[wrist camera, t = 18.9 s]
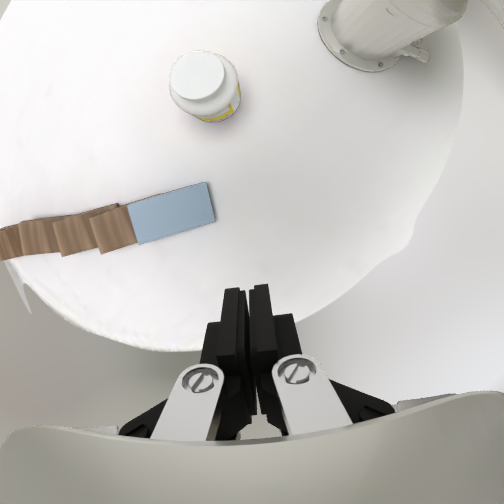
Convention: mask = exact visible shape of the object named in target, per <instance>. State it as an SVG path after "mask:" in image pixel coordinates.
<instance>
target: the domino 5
mask: <svg viewBox="0 0 504 504" xmlns="http://www.w3.org/2000/svg"><path fill="white" fill-rule="evenodd" d="M127 208H128V211H129V215H130V218H131V222H132V225H133V228H134V232H135V235H136V238H137V241H138V244H139V245H141V244H144V243H147V242H151V241H154V240H157V239H160V238H163V237H166V236H170V235H173V234H176V233H179V232H183V231H186V230H189V229H192V228H196V227H199V226H202V225H206V224H209V223H213V222H215V218H214V214H213V209H212V205H211V201H210V197H209V193H208V188H207V184H206V183H204V182H203V183H199V184H195V185H191V186H188V187H184V188H181V189H177V190H174V191H170V192H167V193H163V194H160V195H157V196H153V197H150V198H147V199H144V200H140V201H137V202H134V203H131V204H128V206H127Z"/></svg>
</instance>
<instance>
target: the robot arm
mask: <svg viewBox="0 0 504 504" xmlns="http://www.w3.org/2000/svg"><path fill="white" fill-rule="evenodd" d="M480 1H481V2H482V3H483V4H484V5H485V6H486V7H487V8H488V9H489V10H490V12H491V13H492V14H493V15H494V16H495V17H496V19H497V20H498V21H499V22H500V24H501V25H502V26H503V27H504V0H480ZM467 2H468V0H330V1H329V2H328V3H327V4H325V5H324V7H323V8H322V10H321V12H320V14H319V18H318V29H319V33H320V36H321V38H322V40H323V42H324V44H325V45H326V46H327V48H328V49H329V50H330V51H331V52H332V53H333V54H334V55H335V56H336V57H337V58H338V59H340V60H341V61H342V62H344V63H346V64H347V65H349V66H351V67H354V68H356V69H359V70H363V71H369V72H377V71H383V70H385V69H388V68H390V67H392V66H393V65H395V64H396V63H397V62H398V60H399V59H400V57H401V55H404V56H412V57H414V58H415V59H417V60H419V61H422V62H424V63H427V62H428V61H429V58H430V55H429V53H428V52H427V51H425V50H422V49H420V48H418V47H415V46H413V45H412V43H413V42H414V43H417V44H420V43H421V41H422V38H423V37H425V36H427V35H429V34H431V33H433V32H435V31H437V30H439V29H441V28H443V27H446V26H448V25H450V24H452V23H454V22H456V21H457V20H459V19H460V18H461V17H462V15H463V13H464V12H465V9H466V6H467ZM323 20H324V21H323ZM340 53H342V55H341V54H340ZM378 65H379V66H378ZM249 314H250V317H249ZM256 388H257V393H258V398H259V403H260V408H261V413H262V414H266V415H267V421H268V423H270V424H272V425H273V426H275V427H277V428H278V429H279V431H280V436H281V437H273V438H262V439H250V440H240V439H241V432H240V430H241V429H243V428H244V427H245V426H246V425H248V424H251V423H252V418H251V415H257V399H256ZM0 504H504V393H501V392H498V391H476V392H467V393H463V394H445V395H440V396H433V397H427V398H420V399H412V400H404V401H398V403H397V405H390V404H389V403H387V402H385V401H384V400H381V399H378V398H376V397H373V396H370V395H367V394H365V393H362V392H360V391H357V390H355V389H352V388H349V387H347V386H345V385H342V384H339V383H337V382H335V381H332V380H330V379H328V377H327V375H326V374H325V372H324V370H323V368H322V366H321V364H320V363H319V362H318V361H317V360H316V359H314V358H313V357H311V356H307V355H302V351H301V347H300V343H299V339H298V335H297V331H296V327H295V323H294V319H293V315H292V313H290V314H283V315H275V316H273V315H272V308H271V301H270V294H269V287H268V284H262V285H254V289H251V290H249V311H248V305H247V299H246V293H245V290H243V291H240V288H239V287H238V288H229V289H225V293H224V300H223V307H222V314H221V321H220V322H211V323H208V325H207V329H206V334H205V339H204V344H203V349H202V354H201V359H200V364H198V365H194V366H192V367H189V368H187V369H186V370H184V371H183V372H182V373H181V374H180V376H179V377H178V379H177V381H176V383H175V385H174V388H173V390H172V392H171V394H170V396H169V398H168V399H166V400H164V401H163V402H161V403H159V404H158V405H156V406H154V407H153V408H151V409H150V410H148V411H147V412H145V413H143V414H142V415H140V416H138V417H136V418H134V419H133V420H131V421H129V422H128V423H126V424H125V425H124V426H123V427H122V428H121V429H119V428H118V426H105V427H78V428H70V427H62V426H53V425H51V426H50V425H36V426H28V427H24V428H20V429H18V430H15V431H14V432H12V433H11V434H10V435H9V436H8V437H7V439H6V440H5V441H4V443H3V444H2V445H1V447H0Z"/></svg>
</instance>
